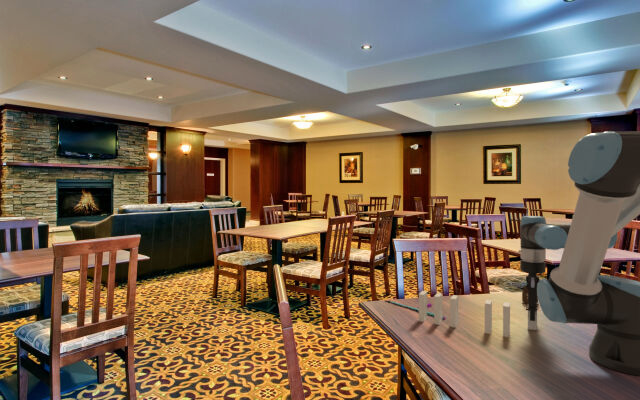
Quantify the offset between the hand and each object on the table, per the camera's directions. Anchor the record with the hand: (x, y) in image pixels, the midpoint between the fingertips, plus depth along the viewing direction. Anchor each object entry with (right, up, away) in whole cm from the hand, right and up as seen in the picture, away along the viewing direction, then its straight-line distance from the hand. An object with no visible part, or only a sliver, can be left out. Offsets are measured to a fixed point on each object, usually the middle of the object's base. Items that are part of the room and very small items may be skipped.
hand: (532, 325), depth 123 cm
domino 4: (-17, 0, -3) cm, 17 cm away
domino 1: (-36, 0, +8) cm, 37 cm away
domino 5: (-12, -1, -6) cm, 14 cm away
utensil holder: (+15, 0, +27) cm, 31 cm away
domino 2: (-31, 0, +5) cm, 32 cm away
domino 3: (-27, 0, +2) cm, 27 cm away
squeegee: (-33, -1, +22) cm, 40 cm away
